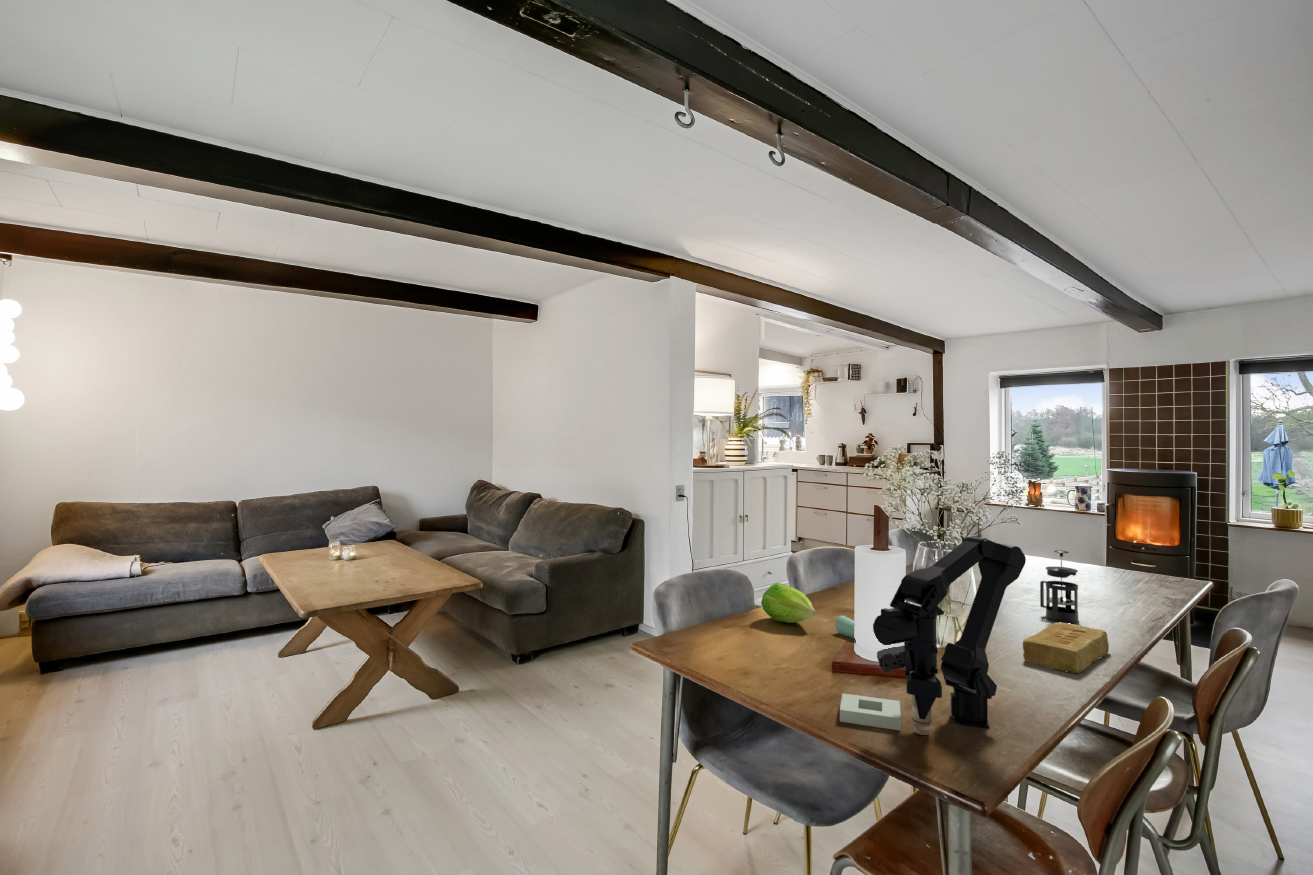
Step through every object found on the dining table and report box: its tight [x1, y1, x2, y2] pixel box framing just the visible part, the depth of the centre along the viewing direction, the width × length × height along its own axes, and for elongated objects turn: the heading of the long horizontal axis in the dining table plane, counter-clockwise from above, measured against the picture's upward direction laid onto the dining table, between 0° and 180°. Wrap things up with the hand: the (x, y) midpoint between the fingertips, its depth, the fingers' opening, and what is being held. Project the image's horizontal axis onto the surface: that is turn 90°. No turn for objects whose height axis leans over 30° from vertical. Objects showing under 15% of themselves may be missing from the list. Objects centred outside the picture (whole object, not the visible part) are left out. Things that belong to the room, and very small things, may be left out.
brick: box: [1022, 622, 1110, 674], centre depth 169 cm, size 13×26×7 cm, turn 130°
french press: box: [1039, 549, 1080, 624], centre depth 204 cm, size 12×9×23 cm
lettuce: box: [760, 582, 816, 623], centre depth 200 cm, size 14×20×12 cm
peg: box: [911, 695, 933, 736], centre depth 125 cm, size 4×4×9 cm
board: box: [839, 693, 902, 732], centre depth 132 cm, size 12×9×2 cm
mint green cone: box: [834, 615, 856, 640], centre depth 179 cm, size 5×6×27 cm
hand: (921, 714), depth 125 cm, fingers closed on peg, 4 cm apart
